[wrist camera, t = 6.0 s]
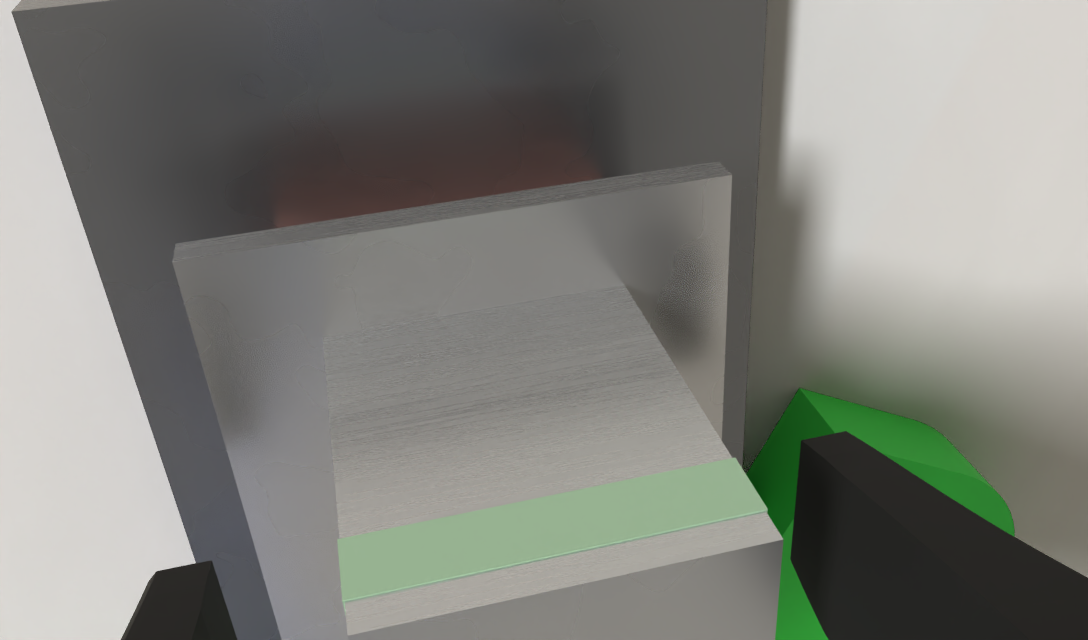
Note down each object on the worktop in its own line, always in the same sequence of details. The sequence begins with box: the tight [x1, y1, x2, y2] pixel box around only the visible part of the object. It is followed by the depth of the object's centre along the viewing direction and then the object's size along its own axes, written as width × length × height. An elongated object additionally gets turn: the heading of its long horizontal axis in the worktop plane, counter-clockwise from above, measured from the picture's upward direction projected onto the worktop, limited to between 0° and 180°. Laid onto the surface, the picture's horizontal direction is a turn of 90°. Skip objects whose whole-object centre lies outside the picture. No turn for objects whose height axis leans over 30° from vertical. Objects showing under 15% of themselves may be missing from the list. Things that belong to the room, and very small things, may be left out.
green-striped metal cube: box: [323, 285, 783, 640], centre depth 12 cm, size 4×4×5 cm
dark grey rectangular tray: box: [12, 0, 767, 640], centre depth 16 cm, size 12×10×4 cm
